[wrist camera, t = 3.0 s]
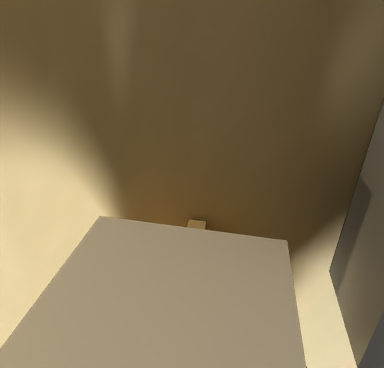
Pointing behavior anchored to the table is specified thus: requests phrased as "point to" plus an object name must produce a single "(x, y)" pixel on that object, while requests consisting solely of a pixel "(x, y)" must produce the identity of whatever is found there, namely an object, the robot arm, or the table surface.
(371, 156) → the socket
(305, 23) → the table surface
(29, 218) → the table surface
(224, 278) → the plug
